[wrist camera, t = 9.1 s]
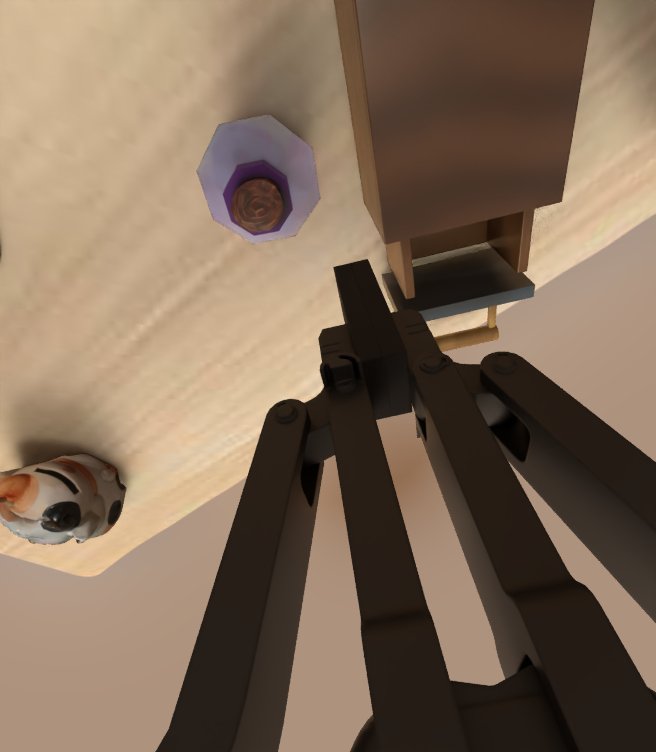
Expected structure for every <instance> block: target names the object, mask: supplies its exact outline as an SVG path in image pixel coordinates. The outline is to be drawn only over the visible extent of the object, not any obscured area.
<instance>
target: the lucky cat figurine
mask: <svg viewBox="0 0 656 752" xmlns="http://www.w3.org/2000/svg"><path fill="white" fill-rule="evenodd" d="M125 493H126V487H125V486H124V485H123V484H122V483H120V480H119V476H118V473H117V470H116V469H115V468H113V467H111V466H109V465H107V464H105V463H103V462H101V461H99V460H97V459H96V458H94V457H92V456H89V455H87V454H78V455H73V456H66V455H64V456H61V457H58V458H56V459H53V460H50V461H48V462H44V463H40V464H35V465H32V466H28V467H23V468H19V469H14V470H10V471H5V472H0V521H1V522H2V524H3V525H4V526H5V527H7V528H8V529H9V530H10V531H11V532H13V533H14V534H15V535H17V536H18V537H21V538H25V539H28V540H29V542H30V543H33V544H35V543H37V544H43V545H46V544H51V545H55V544H62V543H65V542H67V541H68V540H70V539H71V538H73V537H74V538H75V539H76V540H77V541H76V542H77V543H83V542H84V541H86V540H87V539H89V538H94V537H98V536H100V535H103V534H105V533H107V532H108V531H109V530H110V529H111V528H112V527H113V526H114V525H115V523H116V522H117V520H118V519H119V517H120V515H121V512H122V508H123V504H124V498H125Z"/></svg>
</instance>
